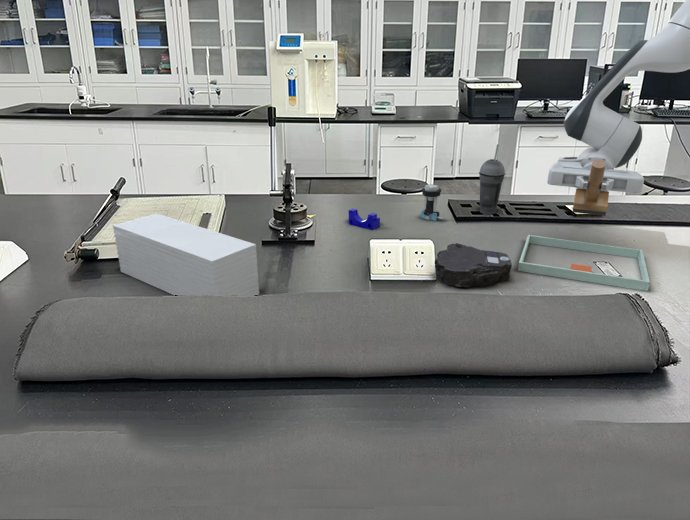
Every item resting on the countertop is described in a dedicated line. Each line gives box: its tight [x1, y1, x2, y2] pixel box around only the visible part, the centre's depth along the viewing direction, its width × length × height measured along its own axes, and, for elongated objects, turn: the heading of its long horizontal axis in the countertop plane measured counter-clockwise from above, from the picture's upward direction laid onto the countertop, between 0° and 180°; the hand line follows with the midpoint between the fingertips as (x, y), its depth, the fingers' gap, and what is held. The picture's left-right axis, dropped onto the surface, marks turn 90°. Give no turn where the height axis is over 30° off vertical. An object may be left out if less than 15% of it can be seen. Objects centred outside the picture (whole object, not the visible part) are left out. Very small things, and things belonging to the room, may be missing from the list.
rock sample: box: [434, 242, 513, 289], centre depth 114 cm, size 18×16×5 cm
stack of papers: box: [112, 212, 260, 296], centre depth 109 cm, size 32×11×11 cm, turn 53°
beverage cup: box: [478, 143, 506, 215], centre depth 153 cm, size 7×7×20 cm
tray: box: [517, 234, 651, 292], centre depth 119 cm, size 25×19×3 cm
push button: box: [420, 183, 444, 222], centre depth 147 cm, size 7×5×10 cm
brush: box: [572, 160, 610, 217], centre depth 119 cm, size 7×5×13 cm
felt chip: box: [570, 263, 593, 273], centre depth 114 cm, size 4×4×1 cm
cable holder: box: [348, 208, 381, 231], centre depth 145 cm, size 8×4×4 cm, turn 52°
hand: (594, 186), depth 118 cm, fingers closed on brush, 3 cm apart
